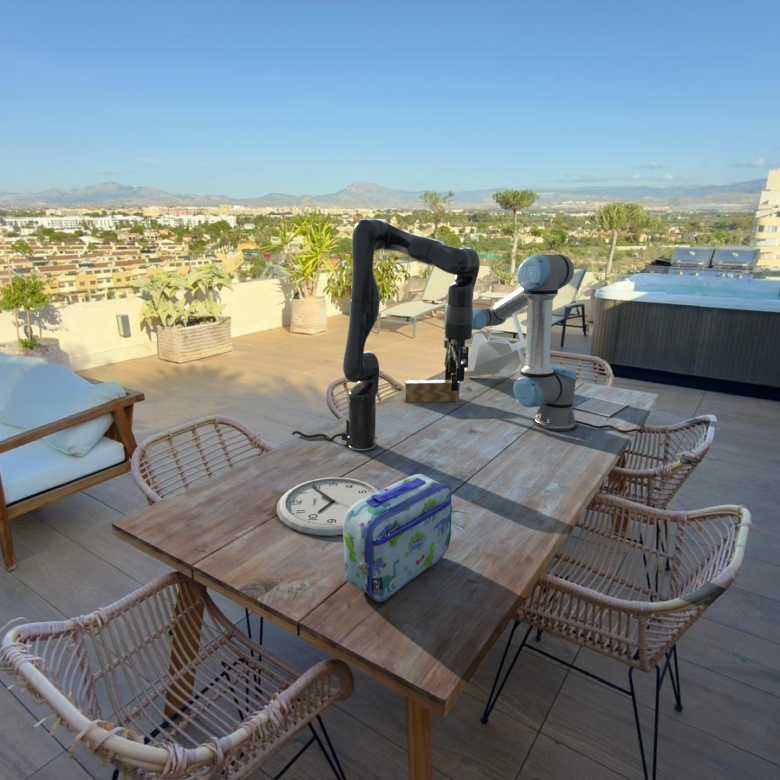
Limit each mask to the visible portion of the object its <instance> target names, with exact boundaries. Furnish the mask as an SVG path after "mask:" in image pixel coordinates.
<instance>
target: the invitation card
mask: <svg viewBox="0 0 780 780" xmlns="http://www.w3.org/2000/svg"><path fill="white" fill-rule="evenodd" d="M628 406H629V404H627V403H623V402H618V401H614V400H609V399H605V398H601V397H596V396H593V397H592V398H590V399H588V400H586V401H584V402H582V403H580V404H578V405H575V406H574V407H573V409H575V410H581V411H584V412H587V413H593V414H596V415H600V416H604V417H608V418H609V417H611V416H613V415H614V414H616V413H617V412H619V411H621V410H623V409H624V408H626V407H628Z"/></svg>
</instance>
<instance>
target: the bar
mask: <svg viewBox="0 0 780 780" xmlns="http://www.w3.org/2000/svg"><path fill="white" fill-rule="evenodd" d="M460 387H461V381H458V391H451V380H445V379H410V380H409V379H407V380H406V379H405V380H404V387H403V388H404V391H403V392H404V393H403V395H404V396H403V398H404V399H403V400H404V402H405V403H427V402H428V403H430V402H431V403H434V402H459V401H460Z"/></svg>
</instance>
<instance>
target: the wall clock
mask: <svg viewBox="0 0 780 780" xmlns="http://www.w3.org/2000/svg"><path fill="white" fill-rule="evenodd" d="M380 490H381V489H379V488H377V487H376V486H374V485H372V484H371V483H369V482H365V481H362V480H359V479H355V478H349V477H338V476H337V477H335V476H333V477H332V476H331V477H322V478H317V479H312V480H307V481H305V482H302V483H299V484H297V485H295V486H293V487H292V488H290V489H288V490H287V491H286V492H285V493H284V494H283V495H281V496H280V498H279V499H278V502H277V503H276V515H277V517H278V518H279V520H280V521H281V522H282V523H283V524H285V525H286V526H287V527H288V528H290V529H293V530H295V531H297V532H299V533H303V534H308V535H312V536H327V537H328V536H329V537H331V536H332V537H333V536H343V523H344V518H345V515H346V513H347V511H348V510H349V508H350V507H351V506H352V505H353V504H354V503H356V502H358V501H360V500H362V499H364V498H366V497H368V496H370V495H372V494H374V493H376V492H378V491H380Z"/></svg>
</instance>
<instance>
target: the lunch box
mask: <svg viewBox="0 0 780 780" xmlns="http://www.w3.org/2000/svg"><path fill="white" fill-rule="evenodd" d="M379 490H380V491H378V492H376V493H374V494H372V495H370V496H368V497H366V498H364V499H362V500H360V501H358V502H356V503H354V504H353V505H352V506H351V507H350V508H349V510H348V511H347V513H346V515H345V518H344V523H343V535H342V542H343V566H344V576H345V580H346V582H347V583H348V584H350V585H352V586H354V587H356V588H358V589H359V590H360V591H362V592H363V593H365V594H366V595H367V596H368V597H369V598H370V599H371V600H373V601H375V602H378V603H382V602H384V601H386V600H388V599H389V598H390V597H392V596H393V595H394V594H395V593H396V592H398V591H399V590H400V589H402V588H403V587H405V586H406V585H408V584H409V583H410V582H411V581H413V580H414V579H415V578H417V577H418V576H419V575H420V574H421V573H423V572H425V570H427V569H429V568H431V567H432V566H434V565H435V564H436V563H438V562H439V561H441V559H442V558H443V557H444V556H445V554H446V553H447V550H448V548H449V546H450V543H451V537H452V536H451V535H452V515H453V514H452V511H453V510H452V509H453V508H452V507H453V505H452V490H451V487H450V485H449V484H448V483H445V482H438V481H436V480H435V479H432V478H431V477H428V476H427V475H426V474H425V475H424V474H422V473H417V474H413V475H411V476H408V477H406V478H404V479H402V480H399V481H397V482H395V483H392V484H391V485H388V486H386V487H385V488H382V489H379Z"/></svg>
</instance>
